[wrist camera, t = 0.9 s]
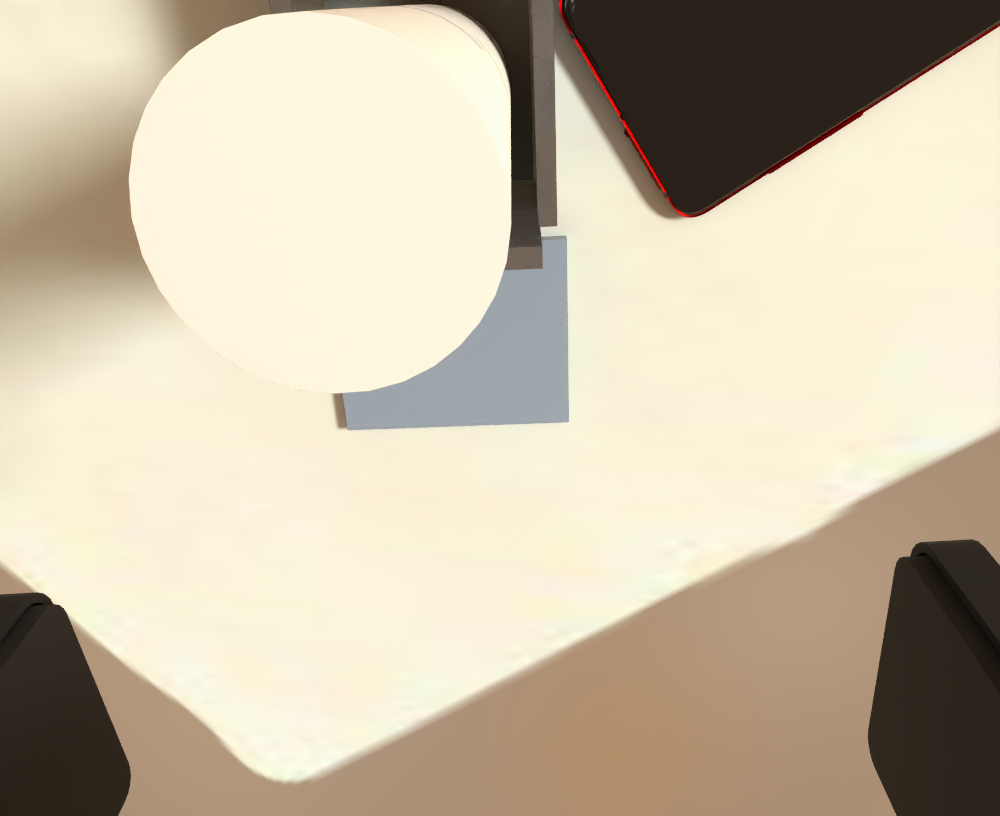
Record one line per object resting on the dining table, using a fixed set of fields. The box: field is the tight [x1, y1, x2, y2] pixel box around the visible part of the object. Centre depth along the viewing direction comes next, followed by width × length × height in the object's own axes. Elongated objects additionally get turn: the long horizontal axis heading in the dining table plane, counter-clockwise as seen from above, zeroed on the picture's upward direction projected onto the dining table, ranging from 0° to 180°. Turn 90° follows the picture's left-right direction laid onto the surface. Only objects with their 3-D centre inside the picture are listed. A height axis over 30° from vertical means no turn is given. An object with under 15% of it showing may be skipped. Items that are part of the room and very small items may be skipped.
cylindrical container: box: [129, 4, 511, 393], centre depth 27 cm, size 7×7×25 cm
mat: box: [342, 236, 569, 430], centre depth 43 cm, size 10×12×1 cm
